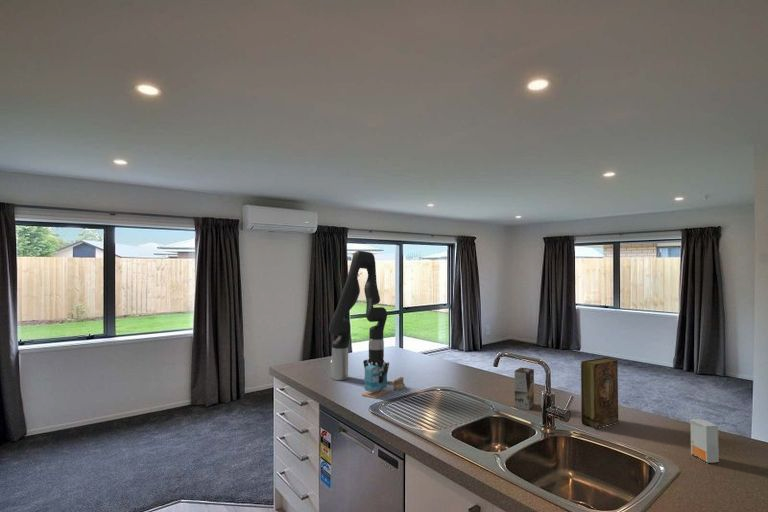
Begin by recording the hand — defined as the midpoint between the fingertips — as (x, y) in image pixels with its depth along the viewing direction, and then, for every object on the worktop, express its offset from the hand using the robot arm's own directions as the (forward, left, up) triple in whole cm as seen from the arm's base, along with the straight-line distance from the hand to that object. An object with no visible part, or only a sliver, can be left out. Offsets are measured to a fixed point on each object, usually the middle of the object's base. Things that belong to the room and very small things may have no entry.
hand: (375, 382), depth 189 cm
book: (+97, +12, -6) cm, 98 cm away
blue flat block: (0, 0, -4) cm, 4 cm away
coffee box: (+67, +18, -6) cm, 70 cm away
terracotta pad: (0, 0, -5) cm, 5 cm away
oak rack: (-1, +12, -5) cm, 13 cm away
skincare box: (+126, -5, -6) cm, 126 cm away
